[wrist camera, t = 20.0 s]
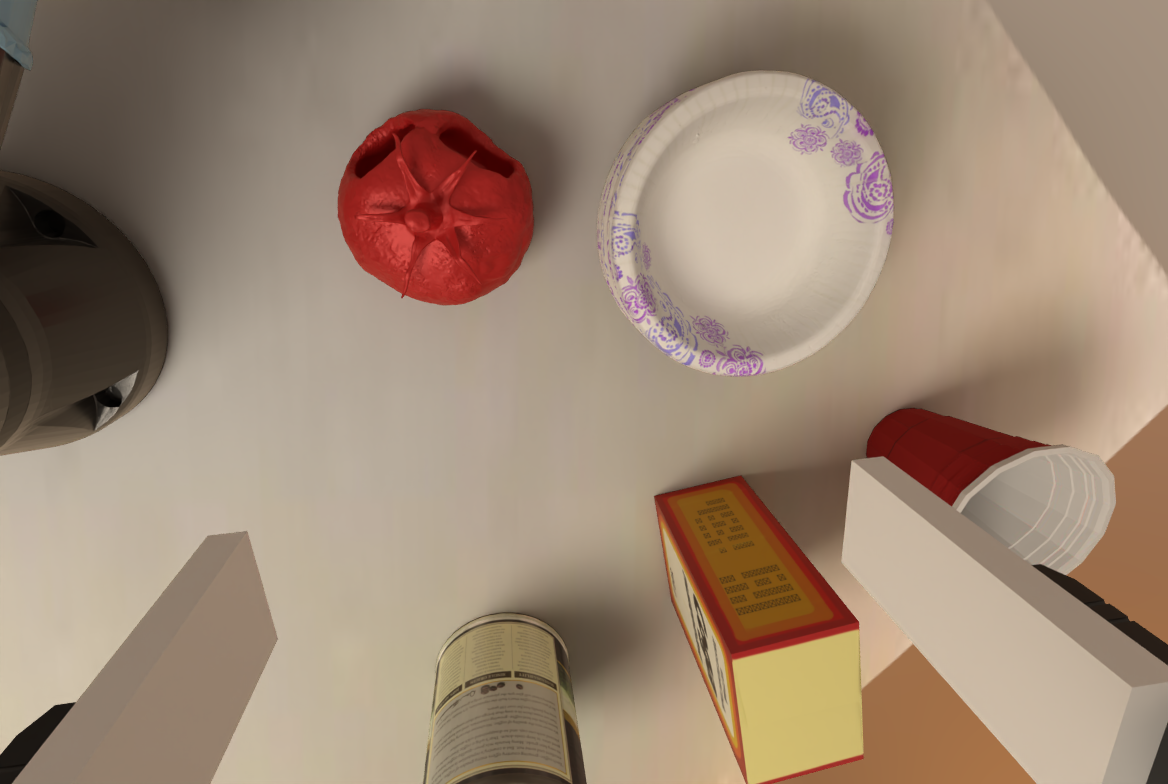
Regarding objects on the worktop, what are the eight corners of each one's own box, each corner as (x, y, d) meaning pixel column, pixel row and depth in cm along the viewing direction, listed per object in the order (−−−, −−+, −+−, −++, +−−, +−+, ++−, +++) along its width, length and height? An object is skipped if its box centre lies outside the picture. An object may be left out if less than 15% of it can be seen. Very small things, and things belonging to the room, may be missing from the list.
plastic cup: (839, 526, 48) (946, 636, 36) (825, 400, 44) (938, 480, 33) (972, 487, 48) (1116, 583, 37) (968, 358, 44) (1129, 422, 33)
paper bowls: (870, 170, 39) (959, 169, 31) (743, 378, 42) (795, 422, 35) (666, 35, 35) (712, -3, 27) (544, 278, 38) (556, 304, 31)
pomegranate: (527, 292, 39) (538, 332, 30) (360, 289, 37) (322, 330, 28) (530, 119, 35) (544, 108, 27) (345, 107, 34) (297, 92, 25)
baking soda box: (752, 581, 48) (867, 764, 33) (671, 601, 48) (751, 796, 33) (741, 475, 45) (863, 627, 30) (654, 495, 44) (734, 660, 30)
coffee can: (596, 664, 49) (632, 845, 36) (498, 737, 50) (498, 939, 37) (509, 586, 45) (514, 756, 32) (405, 667, 47) (370, 863, 33)
